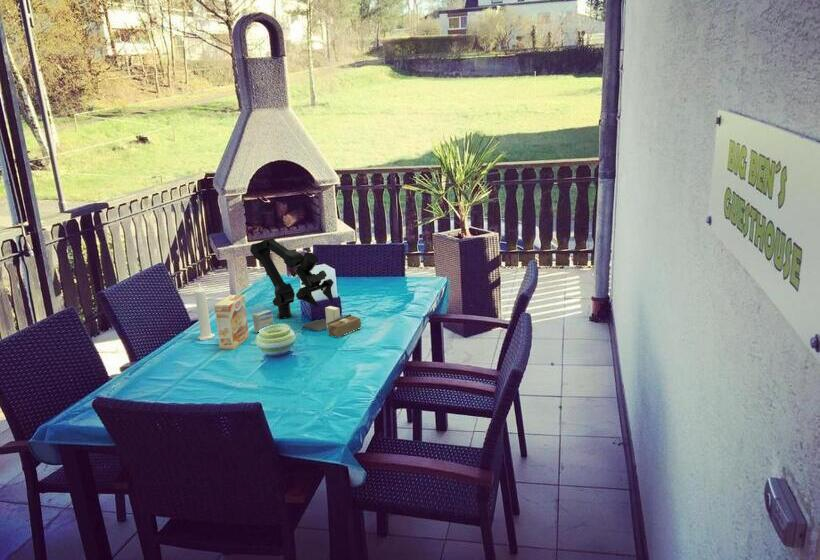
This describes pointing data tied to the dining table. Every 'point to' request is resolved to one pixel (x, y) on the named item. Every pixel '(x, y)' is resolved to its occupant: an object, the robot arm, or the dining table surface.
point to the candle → (203, 314)
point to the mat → (316, 325)
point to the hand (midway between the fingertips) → (325, 303)
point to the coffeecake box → (231, 321)
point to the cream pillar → (332, 313)
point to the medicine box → (262, 319)
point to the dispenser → (343, 325)
